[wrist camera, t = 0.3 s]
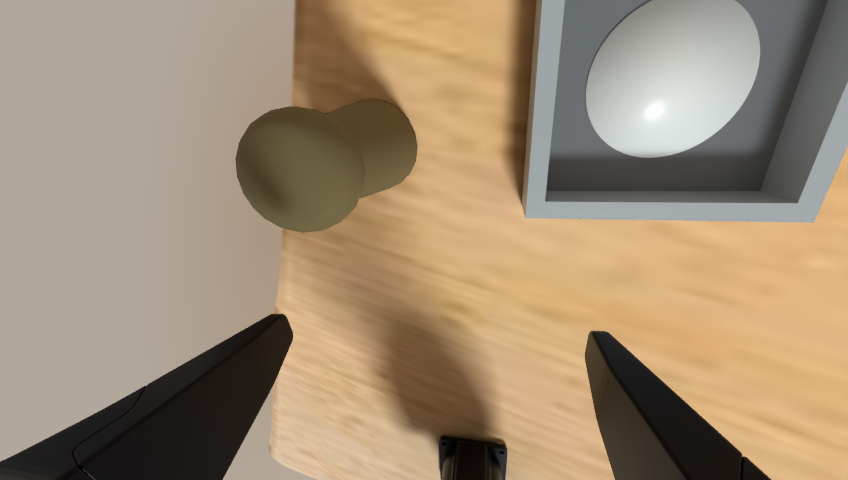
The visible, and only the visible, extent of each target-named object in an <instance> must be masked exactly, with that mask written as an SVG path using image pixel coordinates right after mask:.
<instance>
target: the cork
mask: <svg viewBox="0 0 848 480" xmlns="http://www.w3.org/2000/svg"><path fill="white" fill-rule="evenodd" d="M416 155H417V141H416V135H415V131H414V129H413V127H412V125H411V123H410V121H409V119H408V118H407V117H406V116H405V115H404V114H403V113H402V112H401V111H400V110H399V108H397V107H395V106H393V105H392V104H390V103H388V102H386V101H382V100H376V99H368V100H363V101H358V102H355V103H353V104H350V105H348V106H345V107H342V108H340V109H337V110H334V111H332V112H329V113H326V114H323V113H321V112H319V111H317V110H313V109H308V108H302V107H285V108H280V109H275V110H271V111H269V112H267V113H265V114H264V115H262V116H261V117H259V118H258V119H256V120H255V121H254V122H252V123H251V124H250V125H249V127H248V128H247V130H246V132H245V133H244V135H243V136H242V138H241V140H240V142H239V146H238V150H237V155H236V169H237V177H238V180H239V183H240V185H241V187H242V191H243V193H244V195H245V196H246V198H247V199H248V201H249V202H250V204H251V205H252V207H253V208H254V209H255V210H256V211H257V212H259V213H260V214H261V215H262V216H263V217H264V218H265V219H267V220H268V221H270V222H272V223H274V224H276V225H277V226H279V227H282V228H285V229H289V230H293V231H298V232H302V233H303V232H313V231H320V230H324V229H327V228H329V227H331V226H333V225H335V224H337V223H339V222H341V221H342V220H343V219H344V218H345V217H346V216H347V215H348V214H349V213H350V212H351V211H352V210H353V209H354V208H355V206H356V204H357V202H358V199H359V198H362V197H365V196H368V195H371V194H374V193H377V192H380V191H383V190H386V189H389V188H391V187H393V186H395V185H397V184H399V183H401V182H402V181H403V180H404V179H405V178H406V177H407V176H408V175H409V174H410V172H411V170H412V168H413V166H414V164H415V162H416Z"/></svg>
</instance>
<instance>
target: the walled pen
mask: <svg viewBox="0 0 848 480" xmlns="http://www.w3.org/2000/svg"><path fill="white" fill-rule="evenodd" d="M847 146H848V0H536V3H535V17H534V31H533V45H532V60H531V74H530V88H529V102H528V116H527V131H526V145H525V159H524V173H523V188H522V202H521V204H522V208H523V211H524V214H525V218H556V219H619V220H682V221H745V222H808V223H814V221H815V219H816V216H817V214H818V212H819V210H820V207H821V205H822V203H823V200H824V198H825V196H826V194H827V191H828V189H829V187H830V184H831V182H832V180H833V178H834V175H835V173H836V171H837V169H838V166H839V164H840V162H841V159H842V157H843V155H844V153H845V150H846V148H847Z"/></svg>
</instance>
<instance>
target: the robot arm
mask: <svg viewBox="0 0 848 480" xmlns="http://www.w3.org/2000/svg"><path fill="white" fill-rule="evenodd" d="M292 340H293V332H292V329H291V327H290V324H289V322H288V319H287V317H286V316H285V315H284V314H271V315H269V316H267V317H265V318H263V319H262V320H260V321H259V322H256V323H255V324H253V325H251V326H250V327H248V328H246V329H244V330H242V331H241V332H239V333H237V334H235V335H234V336H232V337H230V338H228V339H227V340H225V341H223V342H221V343H220V344H218V345H216V346H214V347H213V348H211V349H209V350H207V351H206V352H204V353H202V354H200V355H198V356H197V357H195V358H193V359H191V360H190V361H188V362H186V363H184V364H183V365H181V366H179V367H177V368H176V369H174V370H172V371H170V372H169V373H167V374H165V375H163V376H162V377H160V378H158V379H156V380H155V381H153V382H151V383H149V384H148V385H147V386H144V387H142V388H141V389H139V390H137V391H136V392H133V393H132V394H130V395H128V396H126V397H125V398H123V399H121V400H119V401H117V402H116V403H114V404H112V405H110V406H108V407H106V408H105V409H103V410H101V411H99V412H97V413H95V414H93V415H91V416H89V417H87V418H86V419H84V420H82V421H80V422H78V423H76V424H74V425H72V426H70V427H68V428H66V429H64V430H62V431H60V432H59V433H57V434H55V435H53V436H51V437H49V438H47V439H45V440H43V441H41V442H39V443H37V444H35V445H33V446H31V447H29V448H27V449H26V450H24V451H21V452H20V453H18V454H16V455H14V456H11V457H9V458H7V459H6V460H3V461H1V462H0V480H223V477H224V476H225V474H226V472H227V470H228V468H229V467H230V465H231V463H232V461H233V459H234V457H235V455H236V454H237V452H238V450H239V448H240V446H241V444H242V442H243V441H244V438H245V437H246V435H247V433H248V431H249V429H250V427H251V426H252V424H253V422H254V420H255V418H256V416H257V415H258V413H259V411H260V409H261V407H262V405H263V403H264V402H265V400H266V398H267V396H268V394H269V392H270V390H271V388H272V386H273V384H274V382H275V380H276V378H277V376H278V373H279V371H280V368H281V366H282V364H283V361H284V359H285V357H286V354H287V352H288V350H289V347H290V345H291V343H292ZM585 362H586V367H587V372H588V378H589V383H590V388H591V393H592V398H593V403H594V409H595V413H596V418H597V422H598V426H599V429H600V432H601V436H602V439H603V442H604V445H605V448H606V452H607V455H608V458H609V461H610V464H611V468H612V471H613V474H614V477H615V480H771V479H770V478H769V477H768V476H767V475H766V474H764V473H763V472H762V471H761V470H760V469H759V468H758V467H757V466H756V465H755V464H753V463H752V462H751V461H750V460H749V459H748V458H747V457H742V453H741V452H740V451H739V450H738V449H737V448H736V447H734V446H733V445H732V444H731V443H730V442H729V441H728V440H727V439H726V438H724V437H723V436H722V435H721V434H720V433H719V432H718V431H717V430H716V429H715V428H713V427H712V426H711V425H710V424H709V423H708V422H707V421H706V420H705V419H703V418H702V417H701V416H700V415H699V414H698V413H697V412H696V411H695V410H694V409H692V408H691V407H690V406H689V405H688V404H687V403H686V402H685V401H684V400H683V399H681V398H680V397H679V396H678V395H677V394H676V393H675V392H674V391H673V390H671V389H670V388H669V387H668V386H667V385H666V384H665V383H664V382H663V381H662V380H660V379H659V378H658V377H657V376H656V375H655V374H654V373H653V372H652V371H650V370H649V369H648V368H647V367H646V366H645V365H644V364H643V363H642V362H641V361H639V360H638V359H637V358H636V357H635V356H634V355H633V354H632V353H631V352H629V351H628V350H627V349H626V348H625V347H624V346H623V345H622V344H621V343H620V342H618V341H617V340H616V339H615V338H614V337H613V336H612V335H611V334H610V333H608V332H605V331H591V332H590V333H589V335H588V340H587V346H586V351H585ZM439 450H440V473H441V480H505V475H506V462H507V448H506V446H504V445H499V444H492V443H486V442H479V441H472V440H466V439H459V438H453V437H446V436H442V437H440V441H439Z"/></svg>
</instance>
